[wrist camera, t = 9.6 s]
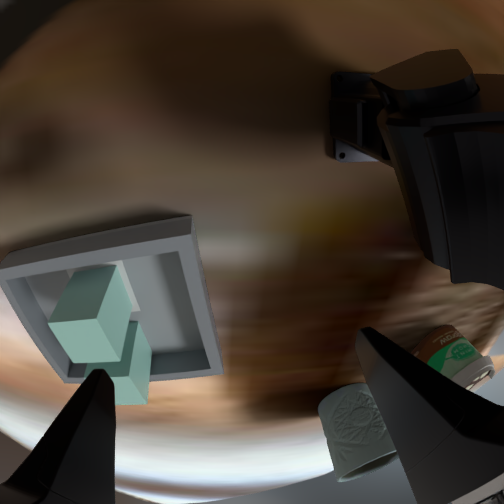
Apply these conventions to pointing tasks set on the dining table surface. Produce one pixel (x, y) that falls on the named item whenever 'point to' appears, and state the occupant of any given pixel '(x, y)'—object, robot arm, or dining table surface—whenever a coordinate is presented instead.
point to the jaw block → (93, 316)
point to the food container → (454, 357)
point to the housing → (141, 296)
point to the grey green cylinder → (355, 432)
